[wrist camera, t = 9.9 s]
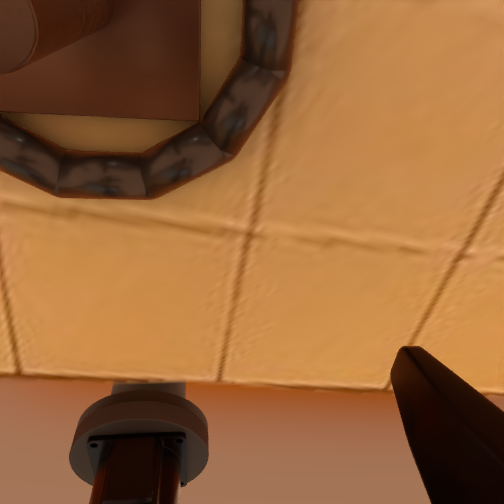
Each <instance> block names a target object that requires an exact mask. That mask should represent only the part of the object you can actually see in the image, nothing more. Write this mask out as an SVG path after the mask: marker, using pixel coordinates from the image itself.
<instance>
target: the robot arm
mask: <svg viewBox="0 0 504 504" xmlns="http://www.w3.org/2000/svg"><path fill="white" fill-rule="evenodd" d="M390 376H391V382H392V386H393V390H394V393H395V397H396V400H397V404H398V408H399V412H400V415H401V419H402V422H403V426H404V430H405V434H406V437H407V440H408V443H409V446H410V449H411V452H412V454H413V458H414V460H415V463H416V465H417V468H418V470H419V473H420V476H421V478H422V481H423V483H424V486H425V488H426V491H427V494H428V496H429V499H430V502H431V504H504V411H502V410H501V409H500V408H499V407H497V406H496V405H495V404H493V403H492V402H491V401H490V400H488V399H487V398H486V397H485V396H483V395H482V394H481V393H479V392H478V391H477V390H476V389H474V388H473V387H472V386H470V385H469V384H468V383H467V382H465V381H464V380H463V379H461V378H460V377H459V376H458V375H456V374H455V373H454V372H452V371H451V370H450V369H449V368H447V367H446V366H445V365H443V364H442V363H441V362H440V361H438V360H437V359H436V358H435V357H433V356H432V355H431V354H429V353H428V352H427V351H426V350H424V349H423V348H421V347H419V346H403V347H401V348H400V349H399V351H398V353H397V356H396V358H395V361H394V364H393V366H392V369H391V374H390ZM86 447H87V451H88V455H89V459H90V463H91V467H92V471H93V475H94V483H93V488H92V493H91V498H90V502H89V504H179V500H180V487H184V486H186V485H187V437H186V433H184V432H181V431H176V432H156V433H135V434H114V435H94V436H90V437H89V438H88V439H87V443H86Z"/></svg>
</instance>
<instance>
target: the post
mask: <svg viewBox="0 0 504 504" xmlns="http://www.w3.org/2000/svg"><path fill="white" fill-rule="evenodd" d="M200 58H201V0H0V112H17V113H38V114H58V115H79V116H99V117H120V118H140V119H161V120H181V121H200Z"/></svg>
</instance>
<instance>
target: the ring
mask: <svg viewBox="0 0 504 504" xmlns="http://www.w3.org/2000/svg"><path fill="white" fill-rule="evenodd" d="M298 5H299V0H243V11H242V29H241V47H240V57H239V59H238V60H237V62H236V64H235V65H234V67H233V69H232V70H231V72H230V74H229V75H228V77H227V79H226V80H225V82H224V84H223V85H222V87H221V89H220V90H219V92H218V94H217V95H216V97H215V99H214V100H213V102H212V104H211V105H210V107H209V109H208V110H207V112H206V114H205V115H204V117H203V119H202V120H201V121H200V122H198V123H197V124H195V125H193V126H191V127H189V128H187V129H185V130H183V131H181V132H180V133H178V134H176V135H174V136H172V137H170V138H168V139H166V140H164V141H163V142H161V143H159V144H157V145H155V146H153V147H151V148H149V149H147V150H146V151H144V152H142V153H125V152H97V151H70V150H67V149H65V148H63V147H61V146H59V145H57V144H55V143H53V142H51V141H49V140H47V139H46V138H44V137H42V136H40V135H38V134H36V133H34V132H32V131H30V130H28V129H26V128H24V127H23V126H21V125H19V124H17V123H15V122H13V121H11V120H9V119H7V118H5V117H3V116H1V115H0V171H2V172H4V173H7V174H9V175H11V176H13V177H15V178H17V179H19V180H21V181H23V182H26V183H28V184H30V185H32V186H34V187H36V188H38V189H40V190H43V191H45V192H47V193H49V194H51V195H53V196H56V197H60V198H85V199H130V200H153V199H156V198H159V197H161V196H163V195H165V194H167V193H169V192H171V191H172V190H174V189H176V188H178V187H180V186H182V185H184V184H186V183H188V182H190V181H192V180H194V179H196V178H198V177H200V176H202V175H204V174H206V173H208V172H210V171H212V170H214V169H216V168H218V167H220V166H222V165H224V164H226V163H228V162H230V161H231V160H233V159H234V158H235V157H236V155H237V154H238V153H239V151H240V150H241V148H242V147H243V145H244V144H245V142H246V141H247V139H248V138H249V136H250V135H251V133H252V132H253V130H254V129H255V127H256V126H257V124H258V123H259V122H260V120H261V119H262V117H263V116H264V114H265V113H266V111H267V110H268V108H269V107H270V105H271V104H272V102H273V101H274V99H275V98H276V96H277V95H278V93H279V92H280V90H281V89H282V87H283V86H284V84H285V83H286V81H287V79H288V77H289V75H290V71H291V64H292V56H293V47H294V39H295V30H296V22H297V14H298Z"/></svg>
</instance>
